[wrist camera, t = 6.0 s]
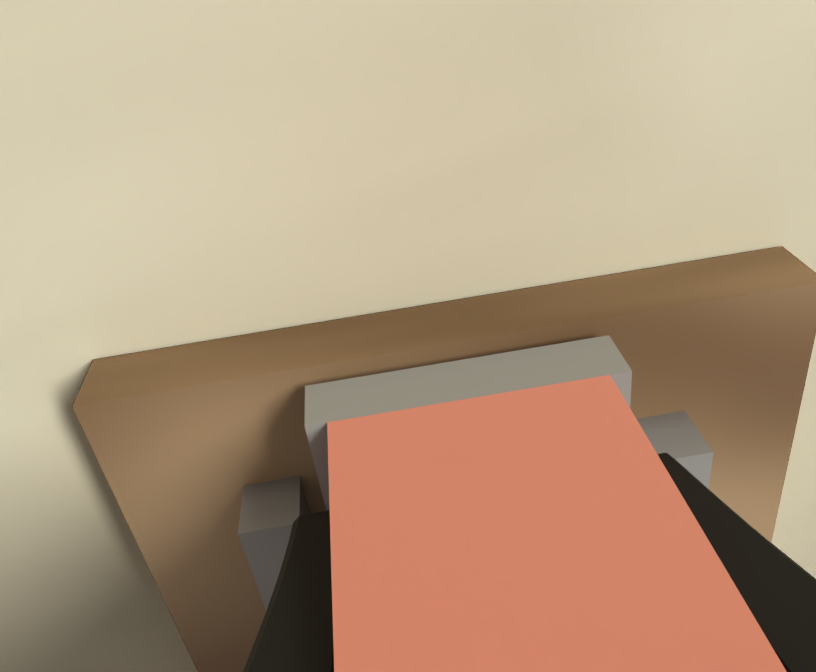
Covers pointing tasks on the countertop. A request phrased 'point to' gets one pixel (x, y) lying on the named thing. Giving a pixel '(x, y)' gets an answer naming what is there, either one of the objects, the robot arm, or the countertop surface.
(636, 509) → the block
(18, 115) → the countertop surface
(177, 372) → the cracker bench
